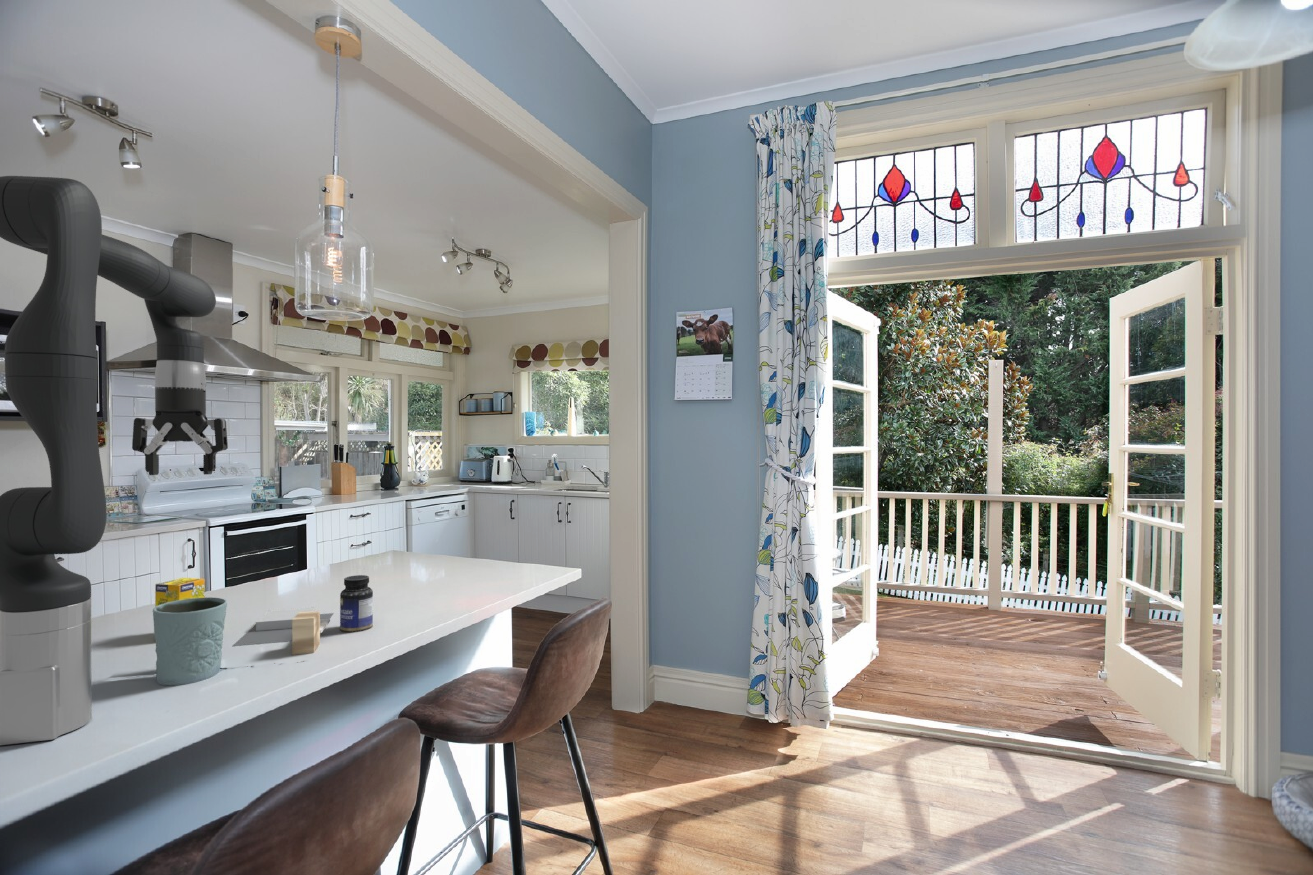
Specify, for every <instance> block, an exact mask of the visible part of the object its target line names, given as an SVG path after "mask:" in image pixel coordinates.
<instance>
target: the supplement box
mask: <svg viewBox="0 0 1313 875" xmlns="http://www.w3.org/2000/svg"><path fill="white" fill-rule="evenodd" d="M205 583H206V579H205V578H191V577H180V578H176V579H173V580H168V581H164V582H157V583H155V585H154V588H155V592H154V593H155V595H154V598H155V604H154V606H155V607H156V606H158V605H161V604H164V603H168V602H172V601H177V600H184V599H191V598H204V597H205V596H206V595H205V593H206V588H205V587H206V586H205ZM155 607H154V608H155Z"/></svg>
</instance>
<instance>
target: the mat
mask: <svg viewBox="0 0 1313 875" xmlns="http://www.w3.org/2000/svg"><path fill="white" fill-rule="evenodd" d="M333 615H334V612H331V613H320V620H321V619H330V620H331V618H332V616H333ZM289 642H291V643H292V628H289V629H276V630H263V631H256V624H255V625H253V626H252V627H251V628H250V629H249V630H248V631H247V632H246V633H245V634H244V635H243V636H241V637H240V638H239V639H238V640H237V641H236V642H234V643H233V644H232V647H241V646H243V647H244V646H251V645H252V646H254V645H266V644H267V645H268V644H278V643H289Z"/></svg>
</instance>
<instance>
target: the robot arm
mask: <svg viewBox="0 0 1313 875" xmlns="http://www.w3.org/2000/svg"><path fill="white" fill-rule="evenodd" d="M102 220H103V219H102V213H101V210H100V206H99V203H98V201H97V198H96V196H95V195H94V193H93V191H92V190H91V189H90V188H89V187H88V186H87V185H86V184H84V183H83V182H81V181H79V180H77V179H71V178H66V177H52V176H51V177H50V176H31V175H30V176H29V175H28V176H27V175H26V176H25V175H3V176H0V238H1V239H2V240H4V241H6V242H8V243H11V244H13V245H16V246H19V247H21V248H25V249H28V250H31V251H34V252H38V253H40V254H44V255H46V263H45V264H46V265H45V266H46V268H45V271H44V276H43V279H42V282H41V283H40V286H39V288H38V290H37V291H36V293H35V294H34V296H33V297H32V298H31V300H30V301H29V302H28V304H27V305H26V306H25V308H24V309H23V310H22V311H21V312H20V314H19V316H18V317H17V319H16V320H15V321H14V322H13V324H12V325H11V328H10V330H9V331H8V333H7V335H6V339H5V343H4V379H5V380H4V381H5V388H6V392H7V395H8V397H9V399H10V401H11V402H12V404H13V405H14V407H15V409H16V410H17V411H18V413H19V414H20V416H21V417H22V418H23V419H24V420H25V422H26V423H27V425H28V426H29V427H30V429H31V430H32V431H33V432H34V434H35V435H36V436H37V438H38V439H39V441H40V442H41V444H42V446H43V448H44V449H45V452H46V455H47V459H48V464H49V469H50V470H49V471H50V482H51V483H50V484H51V485H50V486H44V487H43V486H38V487H37V486H33V487H32V486H30V487H29V486H28V487H18V488H12V489H10V490H9V489H8V491H5V492H3V493H2V494H1V495H0V746H5V745H16V744H23V743H33V742H40V741H41V742H42V741H49V740H56V739H57V738H58V737H59V736H63V735H64V734H67V733H70V732H73V731H75V730H77V729H79V728H82V727H83V726H86V725H87V724H88V723H89V722H90V721H91V720H92V717H93V716H92V713H93V712H92V711H93V708H92V707H93V706H92V705H93V704H92V703H93V702H92V700H93V698H92V697H93V691H92V690H93V689H92V688H93V686H92V682H93V681H92V673H93V672H92V670H93V669H92V583H91V581H90V579H89V578H88V577H86V576H84V575H83V574H80V573H79V574H78V573H76V572H73V571H71V570H68V569H67V568H65V567H64V566H63V565H61V564H60V563H59V562H58V560H57V559H56V556H55V555H74V554H82V553H87V552H89V551H91V550H92V549H94V548H95V547H96V546H97V545H98V544H99V542H101V540H102V537H103V536H104V533H105V530H106V526H107V517H108V516H107V512H108V511H107V510H108V509H107V507H108V506H107V498H106V492H105V491H106V490H105V482H104V476H103V469H102V462H101V456H100V445H99V433H98V432H99V430H98V429H99V428H98V401H97V400H98V359H97V358H98V352H97V337H96V333H97V332H96V330H97V329H96V326H97V325H96V322H97V321H96V307H97V306H96V305H97V304H96V303H97V302H96V299H97V286H98V285H97V284H98V276H99V277H101V278H103V279H105V280H107V281H110V283H112V284H113V283H114V284H115V285H117V286H118V287H121V288H123V289H124V290H125V291H128V292H129V293H131V294H133V295H134V296H137V297H138V298H141V299H143V300H144V301H143V302H144V304H145V306H146V309H147V312H148V315H149V318H150V322H151V325H152V329H153V331H154V334H155V337H156V366H155V373H154V398H155V399H154V404H155V405H154V409H155V410H154V411H155V415H154V418H153V419H150V418H146V417H145V418H144V417H135V418H134V419H133V426H132V427H133V428H132V429H133V430H132V441H131V442H132V443H131V449H132V450H133V451H134V452H140V453H142V454H144V462H145V463H144V464H145V466H144V469H145V471H146V473H148V474H149V475H148V476H158V475H159V474H160V472H159V471H160V470H159V469H160V465H159V464H160V463H159V462H160V461H159V460H160V455H159V454H157V453H158V452H159V451H160V450H161V449H162V448H163V446H166V444H168V442H169V443H172V442H173V443H174V442H183V443H185V442H186V443H187V442H194V443H195V444H196V445H197V446H199V448H201V450H202V451H203V452H204V454H203V458H202V459H203V464H202V465H203V475H212V473H213V472H215V471H216V469H217V466H216V465H217V461H216V460H217V454H218V453H220V452H222V451H227V449H229V448H228V447H229V445H228V431H227V430H228V429H227V421H226V419H225V418H222V417H221V418H215V419H213V418H212V419H208V417H207V415H206V414H207V380H206V379H207V376H206V370H205V344H204V343H205V342H204V337H203V335H202V334H201V333H200V332H197V331H196V330H191V329H187V328H183V327H181V325H180V324H179V322H178V320H177V318H203V317H206V316H209V315H210V314H211V313H212V312H213V311H214V310H215V308H216V304H217V298H216V294H215V291H214V290H213V289H212V287H211V286H210V285H209V283H208V282H206V281H205V280H204V279H202V278H200V277H199V276H197V275H194V274H192V273H190V272H186V271H183V270H182V269H179V268H176V267H172V266H169V265H167V264H165V263H164V262H163V261H161V260H159V259H157V257H155V256H154V255H152V254H150V253H149V252H147V251H145V250H143V249H142V248H140V247H137V246H136V245H133V244H130V243H128V242H125V241H124V240H120V239H117V238H116V237H115V238H113V237H111V236H109V235H105V234H103V229H102V228H103V227H102V226H103V225H102V222H103V221H102ZM152 426H153V427H154V428H155V429H156V431H158V432H157V433H156V434H155V435H154V437H153V438H152V439H151V440H150V442H149V443H148V444H147V442H148V431H149V430H151V428H152ZM208 427H210V429H211V430H213V431H214V441H215V445H214V444H213V443H212V442H211V439H210V438H208V436H207V435H206V434H205V430H206V429H207V428H208Z"/></svg>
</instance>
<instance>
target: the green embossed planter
mask: <svg viewBox="0 0 1313 875" xmlns="http://www.w3.org/2000/svg"><path fill="white" fill-rule="evenodd" d="M227 607H228V601H227V599H225V598H221V597H211V596H209V597H208V596H207V597H204V598H191V599H184V600H177V601H172V602H168V603H164V604H161V605H158V606H156V607H154V608H153V609H152V616H153V627H154V628H153V633H154V634H153V635H154V641H155V649H154V650H155V653H156V661H155V665H156V666H155V668H156V681H157V683H158V684H159V685H163V686H182V685H188V684H192V683H193V684H194V683H198V682H201V681H204V680H207V679H210V678H213V677H214V676H216V675H218V674H219V673H220V670H221V665H222V657H223V656H222V655H223V652H222V648H223V639H224V633H223V631H224V629H225V620H226V615H227V614H226V613H227Z"/></svg>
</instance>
